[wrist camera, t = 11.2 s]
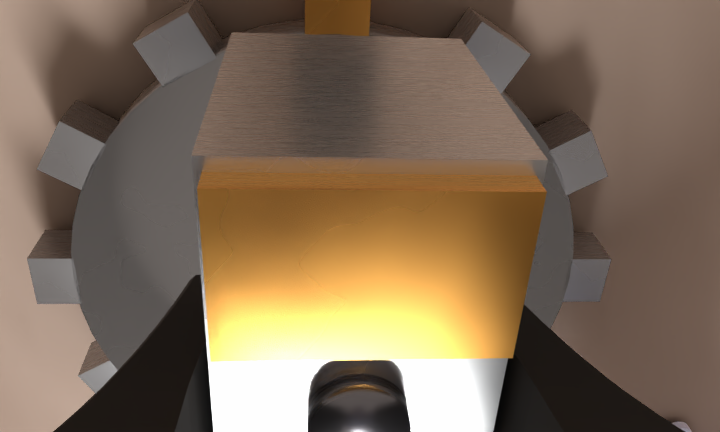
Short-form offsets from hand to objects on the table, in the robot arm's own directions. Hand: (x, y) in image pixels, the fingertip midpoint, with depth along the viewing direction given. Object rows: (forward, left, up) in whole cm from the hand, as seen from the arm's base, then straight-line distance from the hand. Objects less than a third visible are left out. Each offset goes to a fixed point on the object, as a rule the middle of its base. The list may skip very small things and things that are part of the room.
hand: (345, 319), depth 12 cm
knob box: (0, 0, -2) cm, 2 cm away
